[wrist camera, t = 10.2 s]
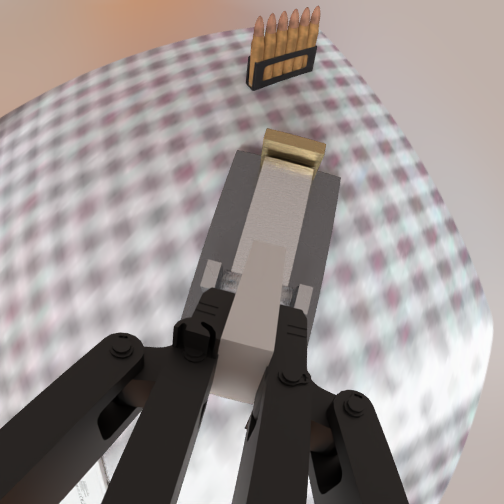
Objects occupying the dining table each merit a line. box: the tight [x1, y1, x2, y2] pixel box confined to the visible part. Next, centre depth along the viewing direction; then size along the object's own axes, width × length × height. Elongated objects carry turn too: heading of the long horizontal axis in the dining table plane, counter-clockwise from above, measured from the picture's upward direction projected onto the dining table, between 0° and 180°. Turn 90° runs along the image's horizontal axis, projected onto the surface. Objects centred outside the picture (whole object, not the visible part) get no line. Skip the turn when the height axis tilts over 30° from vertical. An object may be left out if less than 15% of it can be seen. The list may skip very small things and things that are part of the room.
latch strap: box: [220, 156, 314, 306], centre depth 29 cm, size 2×6×14 cm
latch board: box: [181, 128, 341, 346], centre depth 29 cm, size 20×12×6 cm, turn 165°
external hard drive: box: [59, 458, 108, 504], centre depth 23 cm, size 2×8×12 cm
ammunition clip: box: [246, 6, 320, 91], centre depth 35 cm, size 11×2×12 cm, turn 122°
